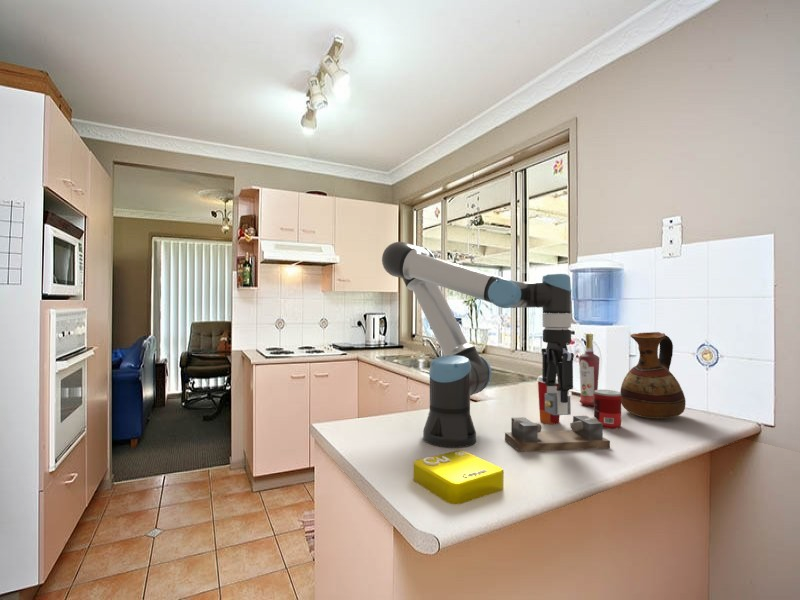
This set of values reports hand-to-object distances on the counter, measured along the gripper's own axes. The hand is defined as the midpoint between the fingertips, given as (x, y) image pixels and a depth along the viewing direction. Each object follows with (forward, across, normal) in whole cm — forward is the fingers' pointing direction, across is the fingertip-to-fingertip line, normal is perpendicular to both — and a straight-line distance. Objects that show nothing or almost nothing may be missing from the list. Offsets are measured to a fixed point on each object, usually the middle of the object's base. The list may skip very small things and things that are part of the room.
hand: (557, 411), depth 116 cm
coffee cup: (+9, +21, -9) cm, 25 cm away
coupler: (0, 0, 0) cm, 0 cm away
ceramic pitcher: (+10, +25, -50) cm, 57 cm away
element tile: (+10, -22, +35) cm, 42 cm away
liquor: (+9, +41, -36) cm, 55 cm away
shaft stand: (+9, 0, 0) cm, 9 cm away
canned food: (+9, +15, -26) cm, 31 cm away
